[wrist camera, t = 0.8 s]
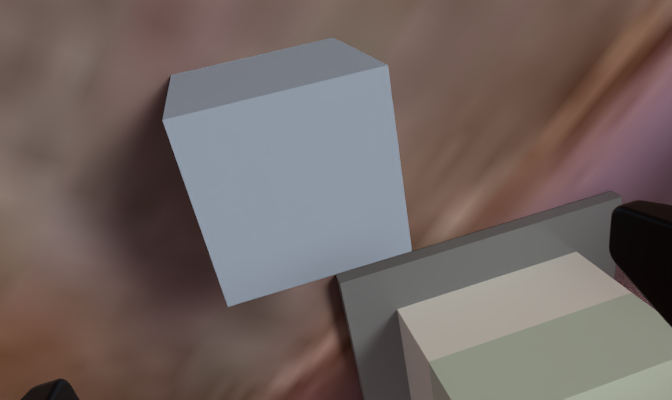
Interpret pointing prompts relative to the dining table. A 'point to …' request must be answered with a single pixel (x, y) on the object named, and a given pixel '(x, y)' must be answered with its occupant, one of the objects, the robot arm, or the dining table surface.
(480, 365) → the pale block on slab
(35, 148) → the dining table surface
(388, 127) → the top block
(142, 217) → the dining table surface
